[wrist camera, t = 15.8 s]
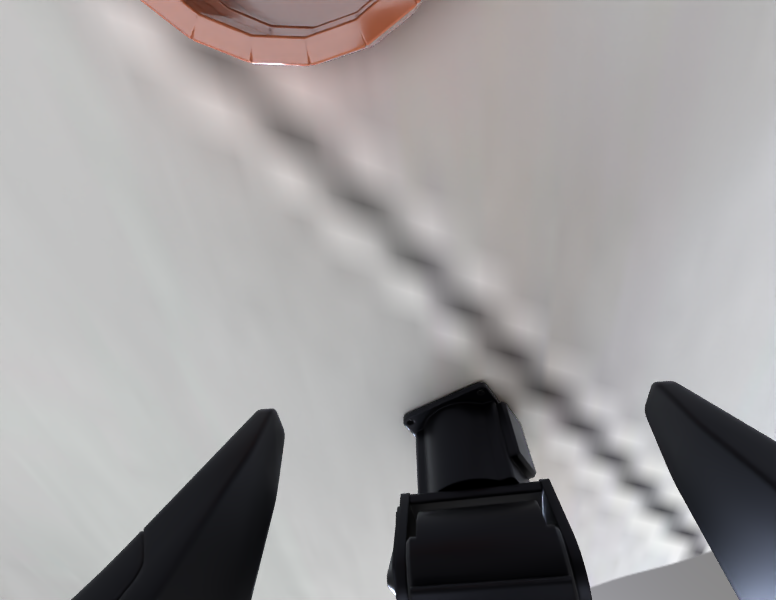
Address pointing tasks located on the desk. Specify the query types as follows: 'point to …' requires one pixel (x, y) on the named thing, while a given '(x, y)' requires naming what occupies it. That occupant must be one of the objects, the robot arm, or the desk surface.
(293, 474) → the desk surface
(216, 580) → the robot arm
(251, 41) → the pot
